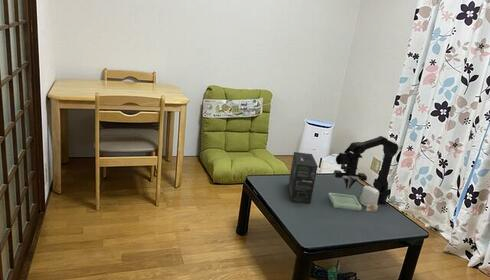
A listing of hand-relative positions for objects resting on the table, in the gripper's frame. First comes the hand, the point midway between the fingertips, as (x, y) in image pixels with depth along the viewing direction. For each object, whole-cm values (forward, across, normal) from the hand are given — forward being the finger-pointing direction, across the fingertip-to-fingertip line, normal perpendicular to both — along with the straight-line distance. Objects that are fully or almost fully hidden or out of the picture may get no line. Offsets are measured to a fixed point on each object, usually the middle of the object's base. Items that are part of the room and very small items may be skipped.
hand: (347, 188), depth 225 cm
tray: (+10, 0, 0) cm, 10 cm away
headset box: (+10, +27, -5) cm, 29 cm away
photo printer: (+10, -14, 0) cm, 17 cm away
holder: (+10, -14, 0) cm, 17 cm away
